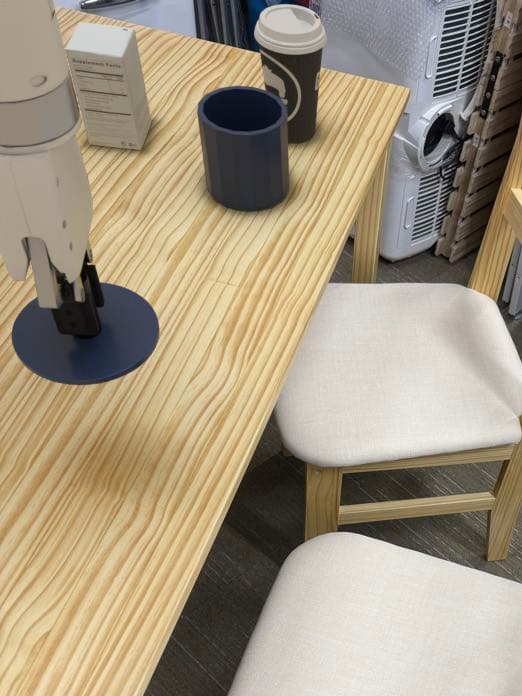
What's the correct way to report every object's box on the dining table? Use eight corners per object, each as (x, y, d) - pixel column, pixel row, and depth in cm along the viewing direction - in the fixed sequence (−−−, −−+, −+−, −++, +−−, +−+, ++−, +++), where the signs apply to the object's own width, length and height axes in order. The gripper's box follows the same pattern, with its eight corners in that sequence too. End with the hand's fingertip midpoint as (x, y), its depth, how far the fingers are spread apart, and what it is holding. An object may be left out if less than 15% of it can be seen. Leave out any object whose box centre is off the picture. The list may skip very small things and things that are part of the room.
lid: (3, 389, 64) (-26, 327, 58) (28, 289, 70) (5, 225, 64) (154, 392, 65) (140, 332, 60) (166, 294, 72) (154, 231, 66)
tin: (204, 209, 102) (194, 131, 93) (209, 161, 108) (200, 83, 99) (289, 213, 104) (287, 136, 95) (289, 164, 109) (287, 88, 101)
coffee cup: (323, 152, 112) (325, 40, 99) (256, 146, 111) (249, 32, 98) (327, 116, 117) (328, 5, 104) (262, 110, 116) (256, -3, 104)
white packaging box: (100, 116, 111) (78, 19, 101) (153, 122, 112) (136, 26, 101) (87, 145, 107) (62, 48, 97) (141, 151, 108) (123, 55, 97)
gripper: (-21, 31, 54) (51, 253, 69) (-79, 171, 45) (18, 389, 61) (92, 40, 55) (138, 257, 70) (56, 179, 46) (118, 391, 62)
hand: (82, 317), depth 66 cm, fingers closed on lid, 2 cm apart
